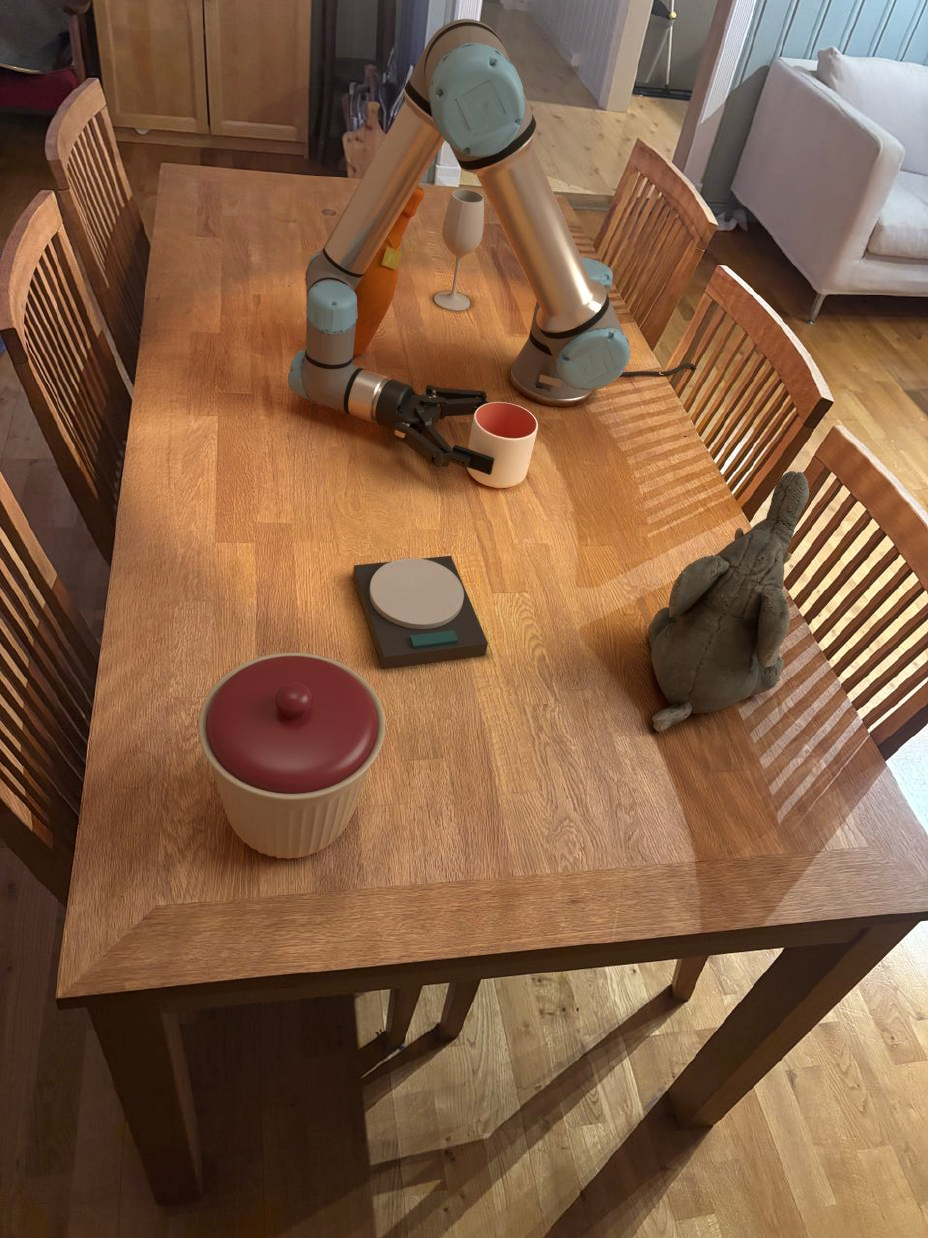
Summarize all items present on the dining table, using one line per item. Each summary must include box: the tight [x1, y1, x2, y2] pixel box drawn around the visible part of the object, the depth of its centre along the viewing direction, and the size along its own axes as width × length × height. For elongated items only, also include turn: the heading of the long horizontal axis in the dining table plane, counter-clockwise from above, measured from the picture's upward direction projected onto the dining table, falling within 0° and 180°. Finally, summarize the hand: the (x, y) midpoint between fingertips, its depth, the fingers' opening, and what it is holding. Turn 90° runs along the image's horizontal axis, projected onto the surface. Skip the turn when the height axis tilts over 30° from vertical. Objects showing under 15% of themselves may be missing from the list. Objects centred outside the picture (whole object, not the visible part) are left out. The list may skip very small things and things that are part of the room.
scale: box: [352, 555, 489, 670], centre depth 130 cm, size 14×17×3 cm
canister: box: [197, 651, 386, 860], centre depth 99 cm, size 18×18×21 cm
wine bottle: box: [353, 185, 425, 357], centre depth 165 cm, size 10×10×30 cm
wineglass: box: [433, 188, 485, 312], centre depth 185 cm, size 8×8×21 cm
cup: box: [466, 401, 539, 489], centre depth 152 cm, size 10×10×10 cm
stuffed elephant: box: [647, 470, 810, 733], centre depth 122 cm, size 19×21×27 cm
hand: (507, 443), depth 151 cm, fingers open, 13 cm apart
